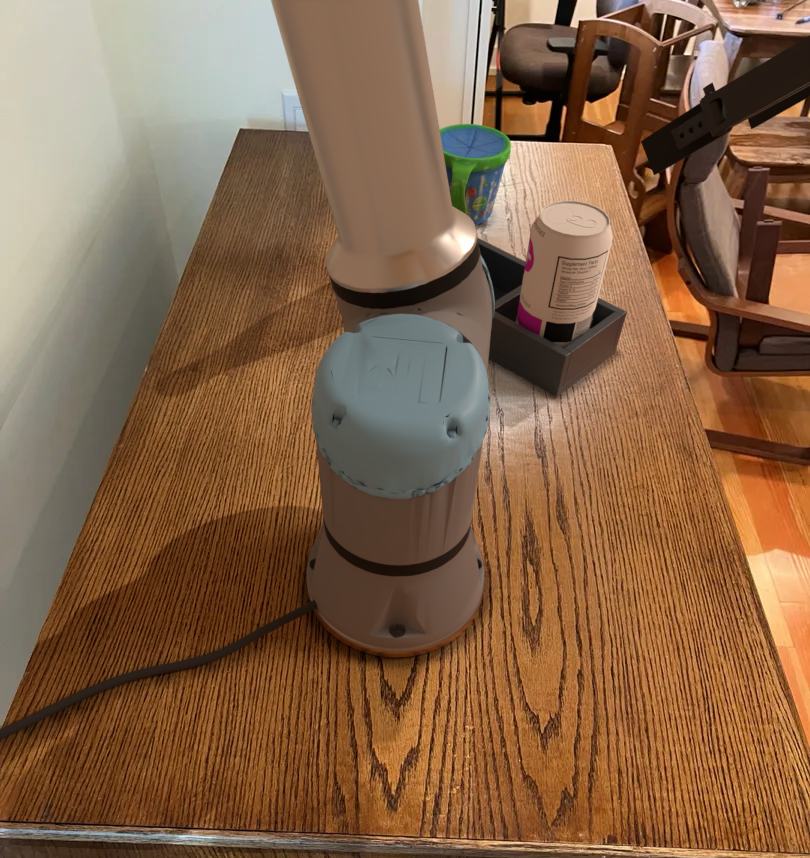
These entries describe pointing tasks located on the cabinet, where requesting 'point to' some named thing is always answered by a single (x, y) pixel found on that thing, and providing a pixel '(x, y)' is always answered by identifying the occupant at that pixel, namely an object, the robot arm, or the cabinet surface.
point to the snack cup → (474, 167)
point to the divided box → (532, 351)
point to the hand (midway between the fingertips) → (701, 134)
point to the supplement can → (564, 270)
